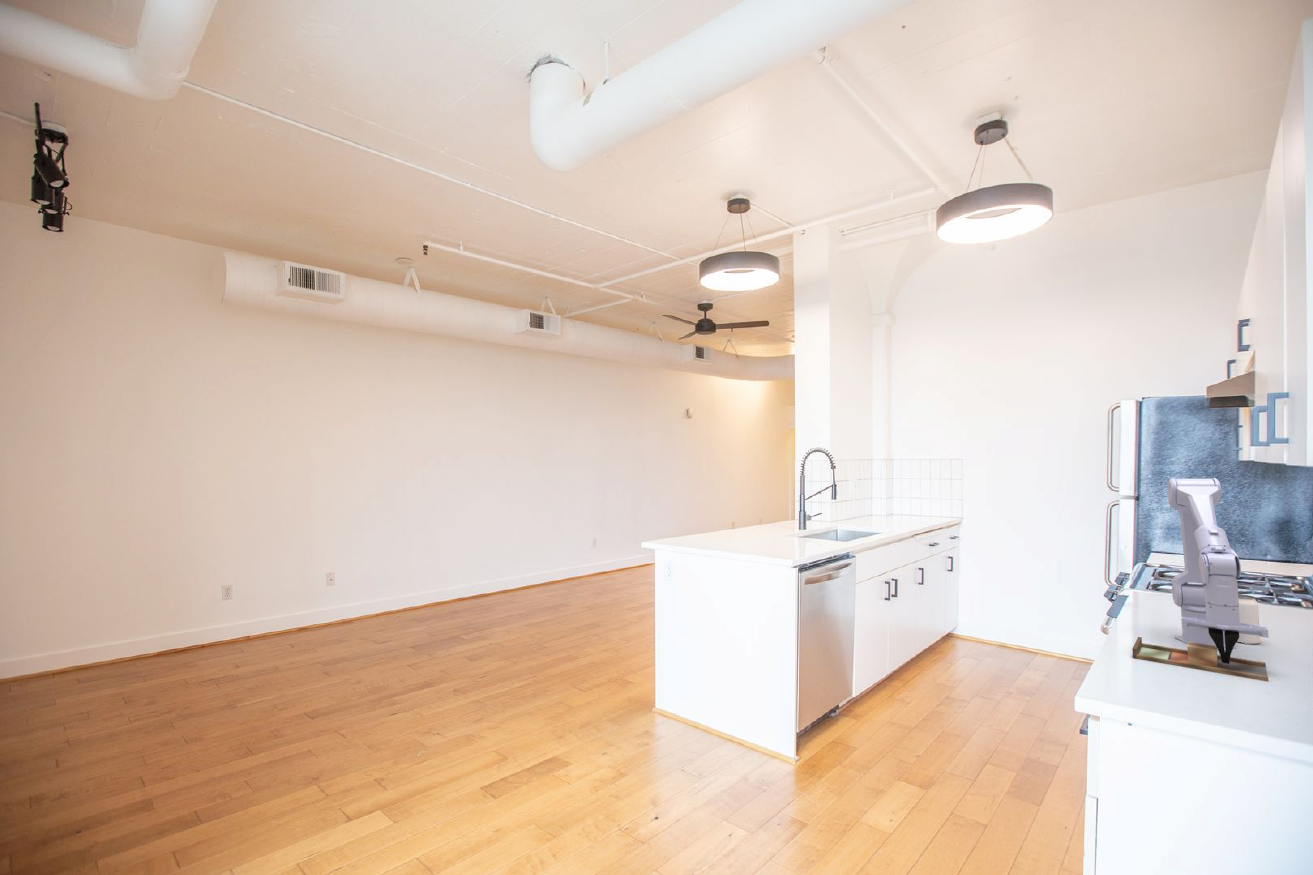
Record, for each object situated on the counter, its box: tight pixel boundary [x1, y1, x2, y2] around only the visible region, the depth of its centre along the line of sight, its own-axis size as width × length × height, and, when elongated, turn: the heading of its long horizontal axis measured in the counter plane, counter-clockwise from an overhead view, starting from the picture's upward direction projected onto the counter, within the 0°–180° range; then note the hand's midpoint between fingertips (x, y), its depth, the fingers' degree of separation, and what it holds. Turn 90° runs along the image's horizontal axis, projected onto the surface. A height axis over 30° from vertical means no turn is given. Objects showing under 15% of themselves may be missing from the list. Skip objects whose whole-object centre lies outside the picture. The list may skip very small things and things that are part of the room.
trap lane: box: [1132, 636, 1269, 682], centre depth 139 cm, size 23×13×2 cm, turn 45°
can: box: [1236, 593, 1261, 645], centre depth 154 cm, size 6×6×12 cm
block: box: [1186, 642, 1218, 668], centre depth 138 cm, size 5×5×4 cm
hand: (1225, 662), depth 135 cm, fingers closed
